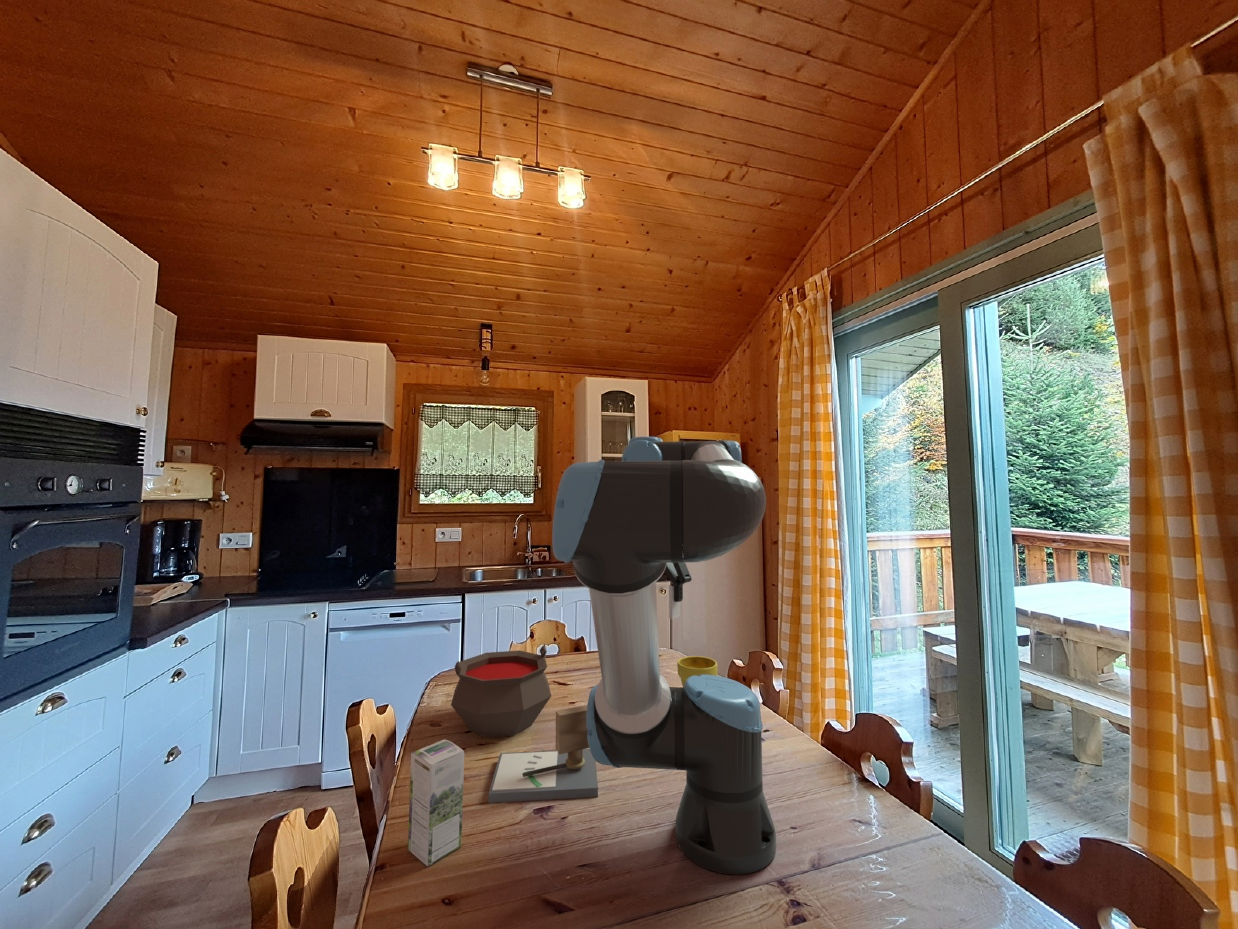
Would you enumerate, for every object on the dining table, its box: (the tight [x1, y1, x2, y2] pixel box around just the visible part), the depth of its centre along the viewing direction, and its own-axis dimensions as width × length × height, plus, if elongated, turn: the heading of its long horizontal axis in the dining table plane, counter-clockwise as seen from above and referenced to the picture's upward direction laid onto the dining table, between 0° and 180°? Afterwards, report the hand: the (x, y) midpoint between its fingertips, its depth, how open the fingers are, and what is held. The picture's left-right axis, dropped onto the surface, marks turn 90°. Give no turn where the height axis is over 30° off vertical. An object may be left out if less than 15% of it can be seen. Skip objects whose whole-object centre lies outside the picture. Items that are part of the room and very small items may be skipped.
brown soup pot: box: [450, 644, 552, 739], centre depth 118 cm, size 24×24×16 cm
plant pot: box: [676, 655, 718, 688], centre depth 131 cm, size 10×10×10 cm
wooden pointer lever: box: [523, 704, 589, 777], centre depth 94 cm, size 14×4×10 cm, turn 114°
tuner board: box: [487, 748, 599, 804], centre depth 95 cm, size 14×19×2 cm
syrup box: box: [407, 739, 465, 867], centre depth 76 cm, size 6×6×14 cm
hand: (647, 613), depth 105 cm, fingers open, 13 cm apart
